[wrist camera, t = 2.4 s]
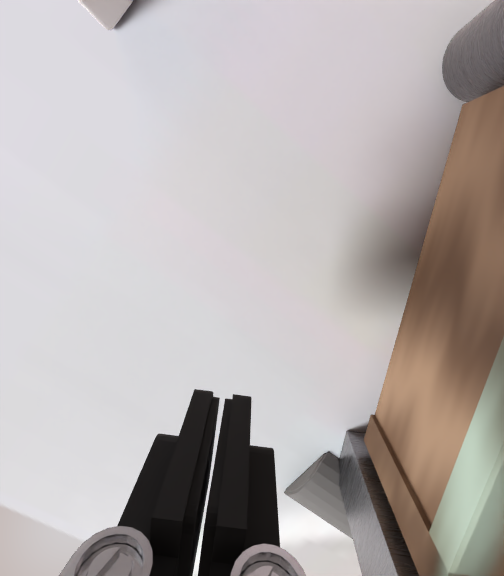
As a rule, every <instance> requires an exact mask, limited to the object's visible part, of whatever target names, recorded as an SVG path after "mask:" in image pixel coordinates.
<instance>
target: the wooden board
mask: <svg viewBox="0 0 504 576" xmlns="http://www.w3.org/2000/svg"><path fill="white" fill-rule="evenodd" d="M364 442H365V444H366V447H367V449H368V452H369V454H370V457H371V459H372V462H373V464H374V466H375V469H376V471H377V474H378V476H379V479H380V481H381V484H382V486H383V488H384V491H385V493H386V496H387V498H388V501H389V503H390V505H391V508H392V510H393V513H394V515H395V518H396V520H397V523H398V525H399V527H400V530H401V532H402V535H403V537H404V540H405V542H406V545H407V547H408V549H409V552H410V554H411V557H412V559H413V562H414V564H415V567H416V569H417V571H418V574H419V576H504V86H502V87H500V88H498V89H496V90H494V91H491V92H489V93H487V94H485V95H483V96H481V97H478V98H476V99H474V100H472V101H470V102H468V103H465V104H463V105H462V109H461V112H460V116H459V119H458V123H457V126H456V130H455V133H454V137H453V141H452V144H451V148H450V151H449V155H448V158H447V162H446V165H445V169H444V172H443V176H442V179H441V183H440V186H439V190H438V194H437V197H436V201H435V204H434V208H433V211H432V215H431V218H430V222H429V225H428V229H427V232H426V236H425V239H424V243H423V246H422V250H421V254H420V257H419V261H418V264H417V268H416V271H415V275H414V278H413V282H412V285H411V289H410V292H409V296H408V299H407V303H406V307H405V310H404V314H403V317H402V321H401V324H400V328H399V331H398V335H397V338H396V342H395V345H394V349H393V352H392V356H391V359H390V363H389V367H388V370H387V374H386V377H385V381H384V384H383V388H382V391H381V395H380V398H379V402H378V405H377V409H376V412H375V415H371V416H370V420H369V423H368V427H367V430H366V434H365V437H364Z"/></svg>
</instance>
